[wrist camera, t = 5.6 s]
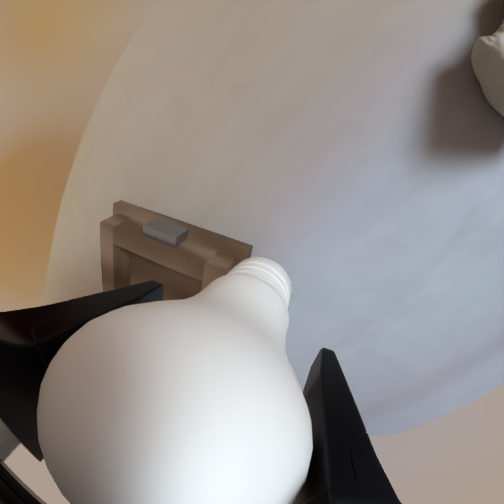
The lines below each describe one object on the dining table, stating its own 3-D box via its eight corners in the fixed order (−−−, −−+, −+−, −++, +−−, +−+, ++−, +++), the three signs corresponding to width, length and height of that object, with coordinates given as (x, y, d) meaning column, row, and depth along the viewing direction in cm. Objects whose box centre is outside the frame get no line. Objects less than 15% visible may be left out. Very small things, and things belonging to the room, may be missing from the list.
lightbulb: (179, 229, 13) (-40, 395, 3) (312, 185, 10) (76, 547, 1) (231, 340, 14) (112, 531, 5) (352, 322, 12) (304, 596, 2)
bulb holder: (224, 358, 28) (210, 381, 25) (121, 309, 31) (102, 325, 28) (253, 244, 22) (237, 264, 19) (120, 199, 25) (94, 210, 22)
